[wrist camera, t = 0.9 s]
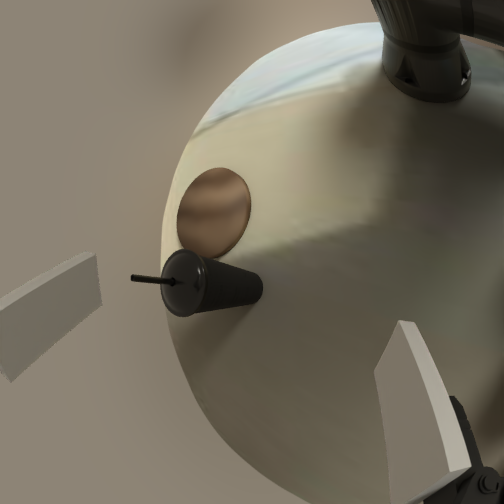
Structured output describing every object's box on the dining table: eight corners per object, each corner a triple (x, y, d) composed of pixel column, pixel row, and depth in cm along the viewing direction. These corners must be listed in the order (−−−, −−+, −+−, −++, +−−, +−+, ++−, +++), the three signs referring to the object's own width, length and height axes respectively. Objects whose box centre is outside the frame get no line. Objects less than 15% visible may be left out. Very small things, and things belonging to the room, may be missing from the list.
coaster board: (186, 182, 53) (180, 180, 52) (252, 160, 44) (246, 157, 43) (179, 261, 50) (173, 260, 49) (250, 255, 41) (244, 253, 40)
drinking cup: (271, 315, 38) (153, 322, 22) (228, 312, 42) (113, 313, 26) (272, 261, 39) (157, 234, 23) (230, 263, 43) (117, 242, 27)
